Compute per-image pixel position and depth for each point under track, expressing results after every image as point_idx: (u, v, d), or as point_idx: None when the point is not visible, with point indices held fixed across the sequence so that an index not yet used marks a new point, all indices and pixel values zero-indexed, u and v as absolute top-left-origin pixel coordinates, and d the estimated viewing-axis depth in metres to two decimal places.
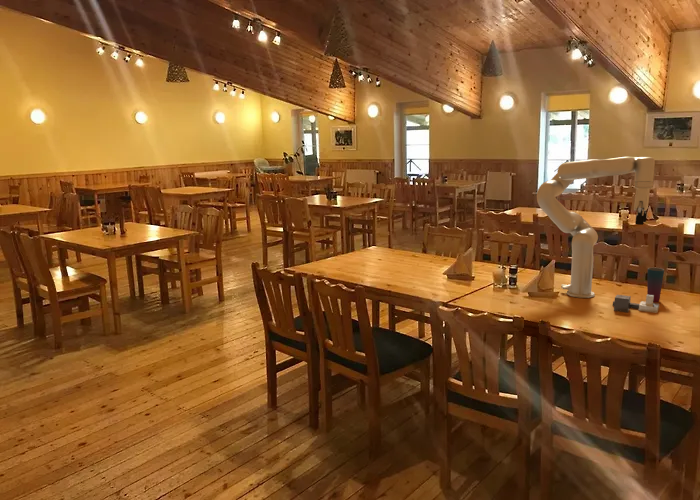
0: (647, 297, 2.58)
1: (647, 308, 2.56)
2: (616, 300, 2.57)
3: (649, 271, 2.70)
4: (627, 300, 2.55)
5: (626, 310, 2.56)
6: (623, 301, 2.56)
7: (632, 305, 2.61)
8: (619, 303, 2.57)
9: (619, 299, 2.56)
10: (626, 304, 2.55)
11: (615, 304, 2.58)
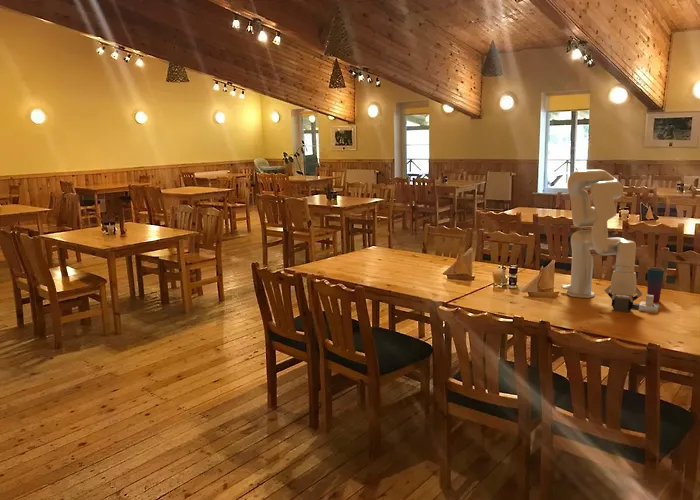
0: (647, 297, 2.58)
1: (647, 308, 2.56)
2: (616, 300, 2.57)
3: (649, 271, 2.70)
4: (627, 300, 2.55)
5: (626, 310, 2.56)
6: (623, 301, 2.56)
7: None
8: (619, 303, 2.57)
9: (619, 299, 2.56)
10: (626, 304, 2.55)
11: (615, 304, 2.58)
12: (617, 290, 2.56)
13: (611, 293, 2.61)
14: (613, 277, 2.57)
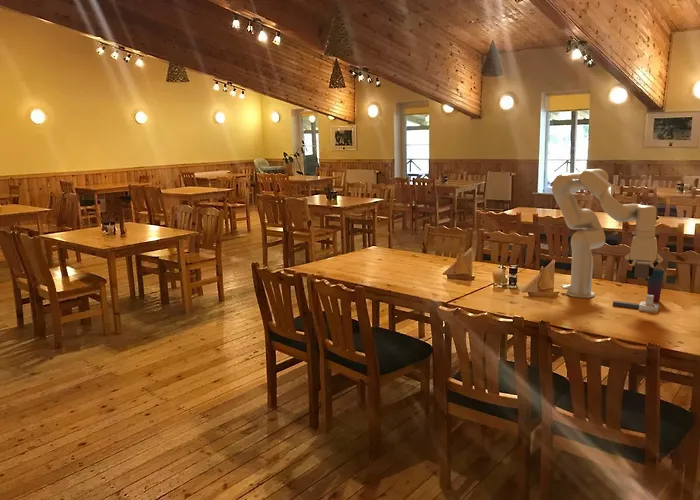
0: (647, 297, 2.58)
1: (647, 308, 2.56)
2: (636, 266, 2.54)
3: None
4: (647, 266, 2.52)
5: (646, 276, 2.52)
6: (643, 267, 2.53)
7: (632, 305, 2.61)
8: (639, 269, 2.54)
9: (639, 265, 2.53)
10: (646, 270, 2.52)
11: (635, 270, 2.55)
12: (637, 256, 2.53)
13: (631, 260, 2.58)
14: (633, 243, 2.54)
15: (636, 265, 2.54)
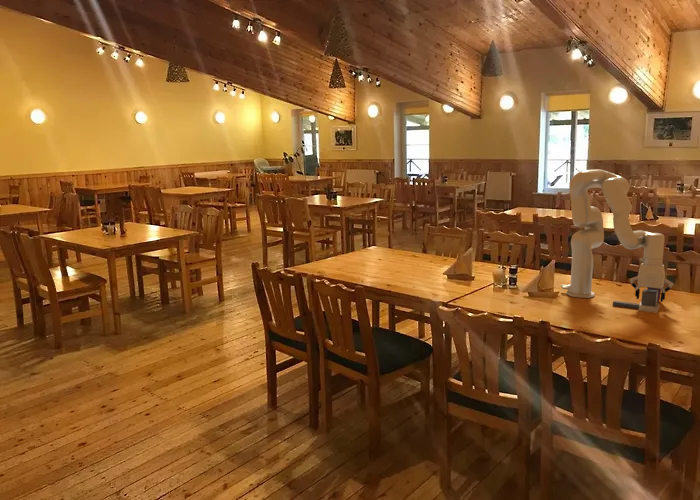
0: None
1: (647, 308, 2.56)
2: (644, 294, 2.57)
3: None
4: (655, 294, 2.54)
5: (654, 304, 2.55)
6: (651, 295, 2.55)
7: (632, 305, 2.61)
8: (647, 297, 2.56)
9: (647, 293, 2.56)
10: (654, 298, 2.55)
11: (642, 298, 2.57)
12: (645, 283, 2.56)
13: (634, 283, 2.61)
14: (641, 270, 2.56)
15: (643, 293, 2.57)
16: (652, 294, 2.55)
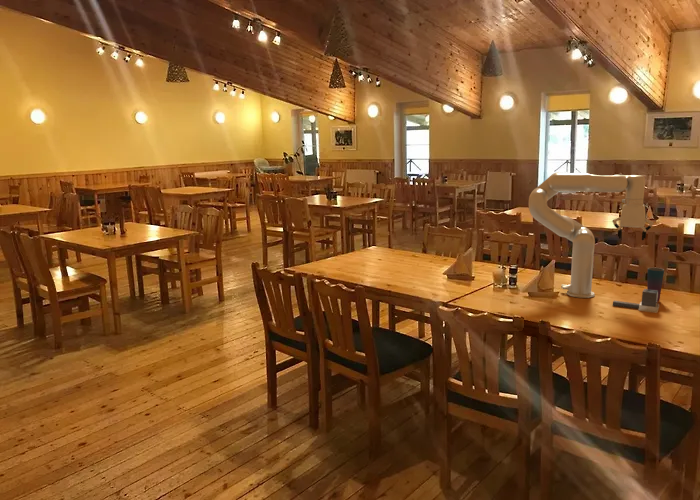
0: None
1: (647, 308, 2.56)
2: (644, 294, 2.57)
3: (649, 271, 2.70)
4: (655, 294, 2.54)
5: (654, 304, 2.55)
6: (651, 295, 2.55)
7: (632, 305, 2.61)
8: (647, 297, 2.56)
9: (647, 293, 2.56)
10: (654, 298, 2.55)
11: (643, 298, 2.57)
12: (627, 222, 2.70)
13: (617, 224, 2.76)
14: (623, 210, 2.71)
15: (644, 293, 2.57)
16: (652, 294, 2.55)
